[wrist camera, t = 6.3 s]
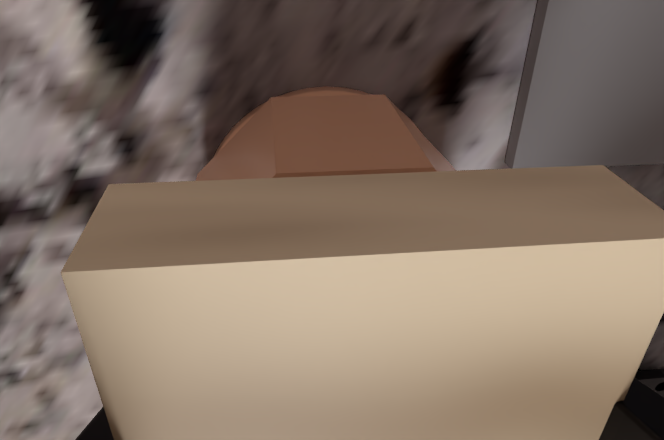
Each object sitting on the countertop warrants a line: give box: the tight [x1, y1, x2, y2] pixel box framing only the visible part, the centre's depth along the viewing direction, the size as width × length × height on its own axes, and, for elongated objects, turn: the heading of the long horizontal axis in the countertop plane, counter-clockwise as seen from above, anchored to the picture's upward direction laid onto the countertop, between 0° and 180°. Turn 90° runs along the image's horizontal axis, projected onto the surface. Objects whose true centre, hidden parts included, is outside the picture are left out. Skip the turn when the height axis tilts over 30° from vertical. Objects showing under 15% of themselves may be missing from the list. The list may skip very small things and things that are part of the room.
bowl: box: [196, 86, 456, 181], centre depth 12 cm, size 6×6×5 cm
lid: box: [61, 165, 664, 440], centre depth 8 cm, size 7×7×2 cm
